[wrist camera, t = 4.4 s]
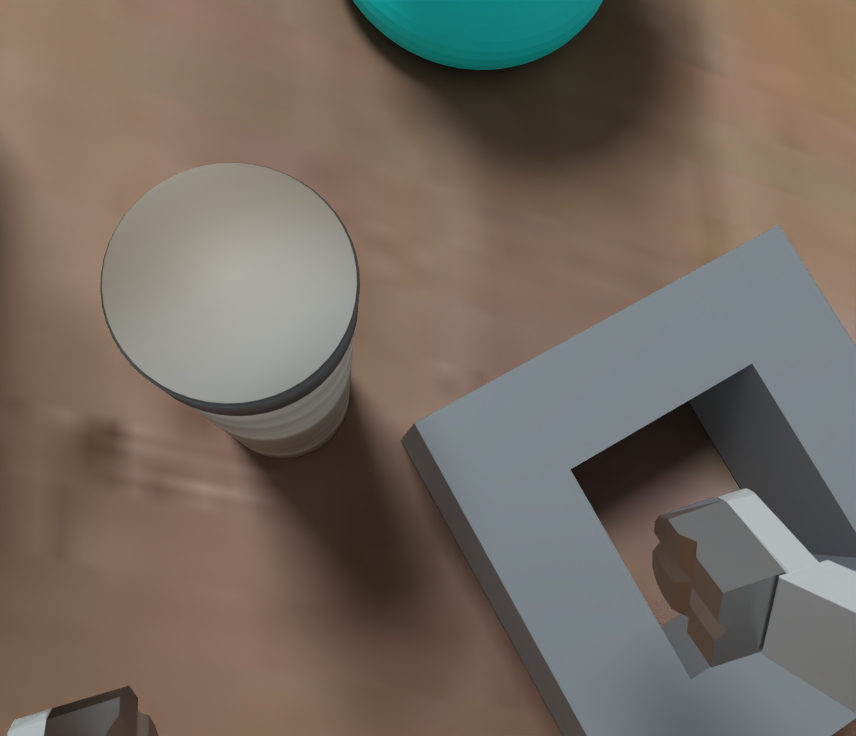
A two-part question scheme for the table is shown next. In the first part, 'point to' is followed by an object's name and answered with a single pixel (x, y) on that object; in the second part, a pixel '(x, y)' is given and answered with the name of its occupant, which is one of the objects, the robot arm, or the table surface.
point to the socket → (613, 421)
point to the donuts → (479, 28)
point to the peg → (238, 302)
